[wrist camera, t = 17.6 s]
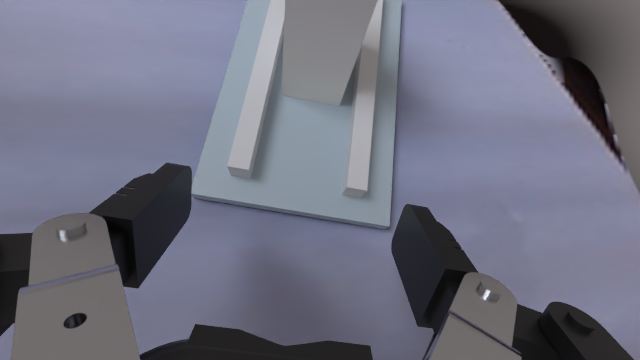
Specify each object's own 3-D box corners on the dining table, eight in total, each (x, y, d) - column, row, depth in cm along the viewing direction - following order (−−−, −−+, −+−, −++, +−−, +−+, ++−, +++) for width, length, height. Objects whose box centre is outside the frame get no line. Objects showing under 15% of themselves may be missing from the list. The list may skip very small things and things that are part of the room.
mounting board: (384, 229, 19) (399, 221, 17) (193, 197, 18) (182, 185, 16) (397, 3, 26) (409, -24, 24) (260, -29, 25) (259, -62, 23)
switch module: (339, 106, 20) (402, -67, 10) (281, 94, 20) (288, -95, 10) (345, 55, 22) (405, -137, 12) (291, 44, 22) (307, -165, 12)
